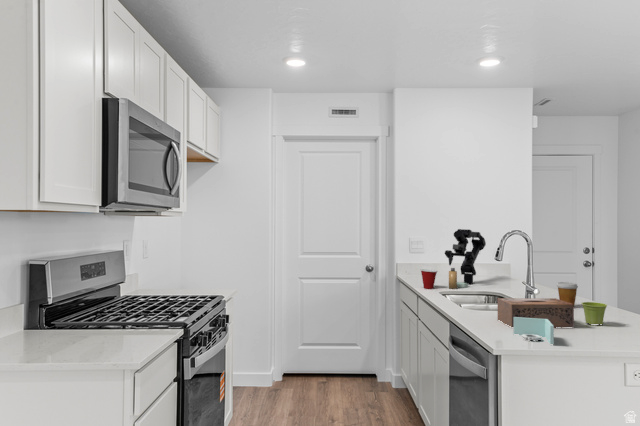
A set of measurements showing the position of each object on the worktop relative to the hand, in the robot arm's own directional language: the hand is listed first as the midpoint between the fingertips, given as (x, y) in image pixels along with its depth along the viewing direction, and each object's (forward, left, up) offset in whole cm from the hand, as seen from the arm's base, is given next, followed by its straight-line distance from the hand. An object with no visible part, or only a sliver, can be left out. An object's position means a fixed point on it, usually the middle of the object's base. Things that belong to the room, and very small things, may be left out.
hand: (456, 265), depth 308 cm
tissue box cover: (+70, +81, -14) cm, 108 cm away
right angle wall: (+97, +92, -15) cm, 135 cm away
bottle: (+7, +2, -14) cm, 16 cm away
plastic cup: (+19, -8, -14) cm, 25 cm away
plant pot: (+51, +98, -14) cm, 112 cm away
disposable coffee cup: (+18, +75, -14) cm, 79 cm away
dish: (-2, 0, -14) cm, 14 cm away
